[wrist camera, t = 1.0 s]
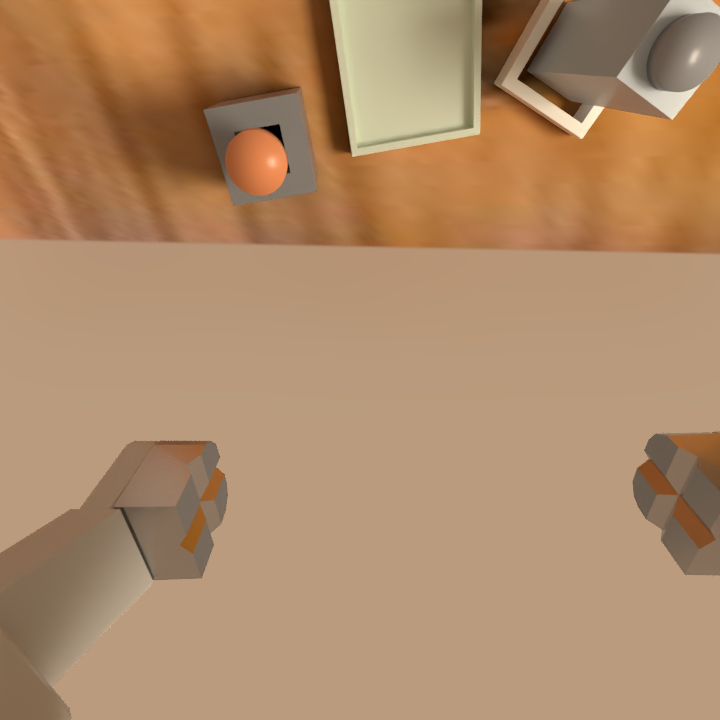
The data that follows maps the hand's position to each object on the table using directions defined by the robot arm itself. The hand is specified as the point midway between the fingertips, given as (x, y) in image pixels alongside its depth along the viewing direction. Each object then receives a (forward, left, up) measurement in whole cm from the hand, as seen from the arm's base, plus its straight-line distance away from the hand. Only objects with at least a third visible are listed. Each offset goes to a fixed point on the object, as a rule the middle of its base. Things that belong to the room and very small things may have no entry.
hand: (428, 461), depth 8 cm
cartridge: (-4, +17, -32) cm, 37 cm away
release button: (-2, -6, -28) cm, 29 cm away
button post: (-2, -6, -32) cm, 33 cm away
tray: (-5, +5, -32) cm, 33 cm away
